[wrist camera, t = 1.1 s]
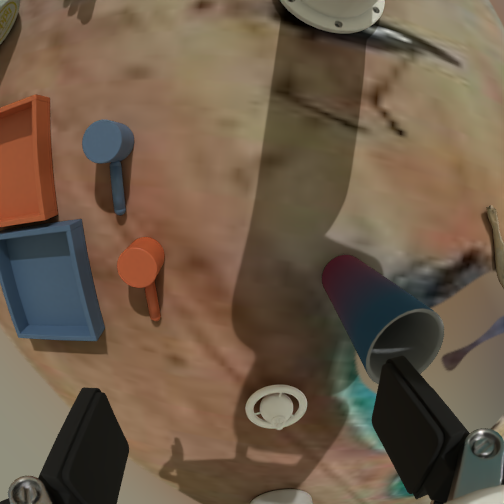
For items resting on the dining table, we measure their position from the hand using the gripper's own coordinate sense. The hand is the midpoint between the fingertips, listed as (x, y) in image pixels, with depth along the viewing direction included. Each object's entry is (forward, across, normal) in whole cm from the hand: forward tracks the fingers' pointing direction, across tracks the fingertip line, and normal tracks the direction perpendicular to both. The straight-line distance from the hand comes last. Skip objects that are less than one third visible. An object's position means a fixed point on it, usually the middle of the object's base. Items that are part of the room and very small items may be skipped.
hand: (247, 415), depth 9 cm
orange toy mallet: (+24, +9, +3) cm, 26 cm away
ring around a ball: (+25, -4, +22) cm, 33 cm away
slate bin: (+24, +22, +2) cm, 33 cm away
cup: (+24, -12, +5) cm, 28 cm away
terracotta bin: (+24, +25, -12) cm, 36 cm away
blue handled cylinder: (+24, +11, -9) cm, 28 cm away
